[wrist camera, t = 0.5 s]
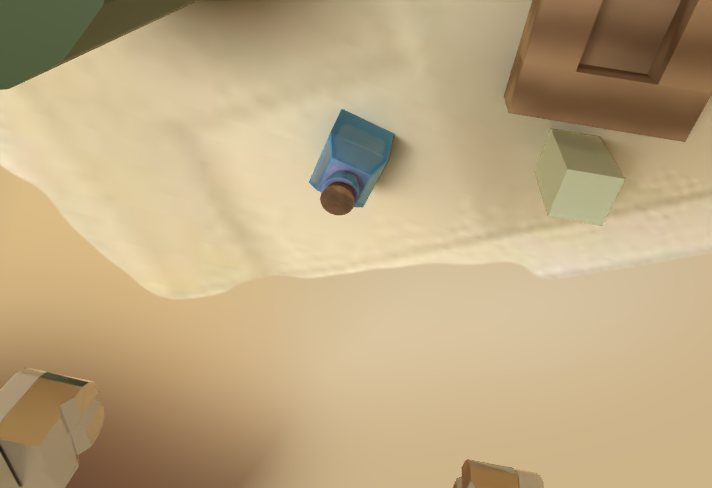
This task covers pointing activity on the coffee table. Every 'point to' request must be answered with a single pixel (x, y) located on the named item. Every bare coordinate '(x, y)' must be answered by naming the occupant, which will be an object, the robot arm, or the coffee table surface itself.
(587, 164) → the sage plug
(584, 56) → the walnut stand
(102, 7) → the flower pot
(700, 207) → the coffee table surface
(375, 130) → the perfume bottle
